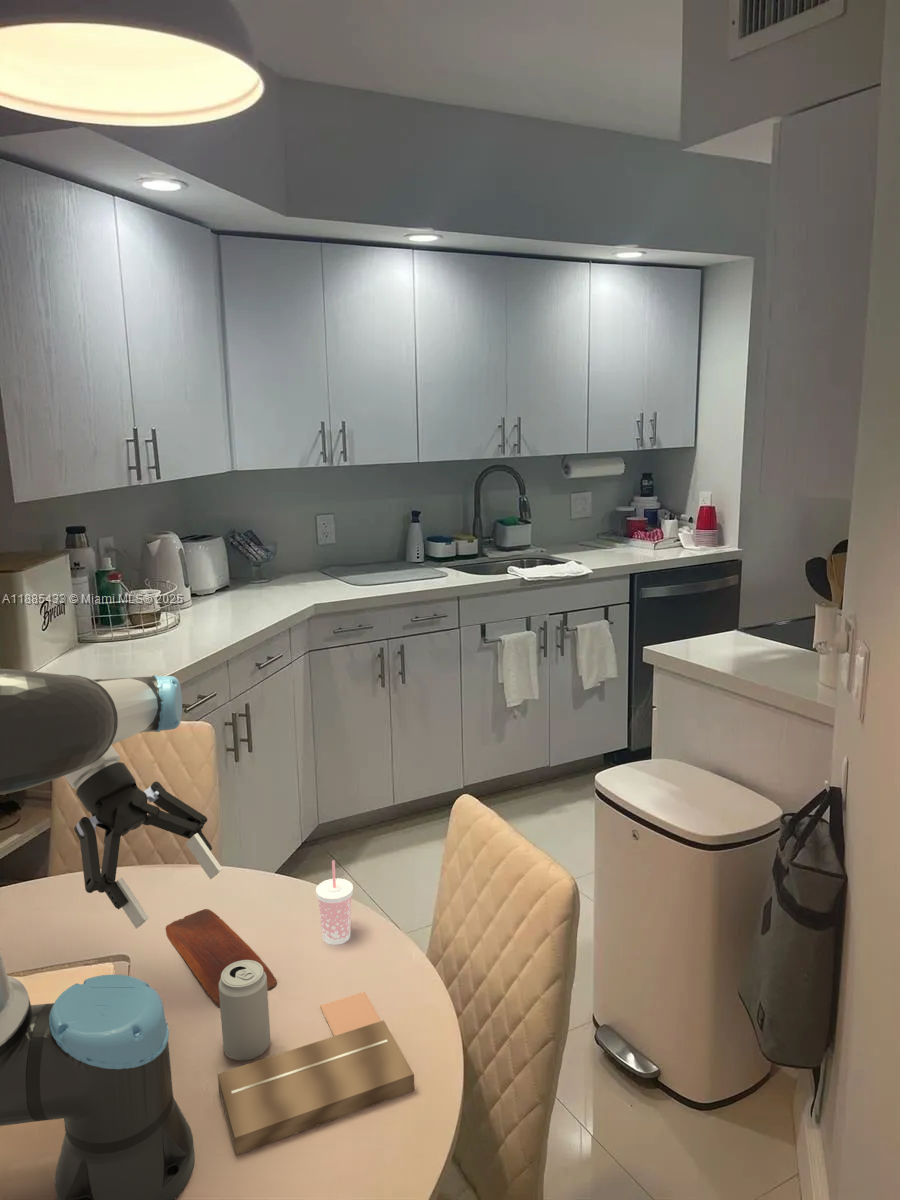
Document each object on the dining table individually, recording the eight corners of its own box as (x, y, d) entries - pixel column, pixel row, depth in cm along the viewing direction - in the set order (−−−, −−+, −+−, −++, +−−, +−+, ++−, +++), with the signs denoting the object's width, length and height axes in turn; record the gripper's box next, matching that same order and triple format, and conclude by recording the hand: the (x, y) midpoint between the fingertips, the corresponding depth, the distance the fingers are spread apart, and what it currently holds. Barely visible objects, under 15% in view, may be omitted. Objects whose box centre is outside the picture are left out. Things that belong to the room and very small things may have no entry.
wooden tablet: (281, 988, 133) (281, 978, 133) (219, 1015, 128) (218, 1005, 127) (215, 908, 154) (214, 899, 154) (158, 928, 148) (158, 919, 148)
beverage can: (246, 1025, 125) (241, 952, 122) (280, 1041, 122) (275, 966, 119) (213, 1053, 120) (207, 977, 117) (248, 1071, 116) (242, 993, 114)
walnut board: (236, 1155, 104) (234, 1137, 103) (218, 1089, 113) (217, 1073, 113) (414, 1090, 113) (413, 1073, 112) (384, 1035, 123) (383, 1019, 122)
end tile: (334, 1038, 122) (334, 1036, 122) (320, 1007, 128) (320, 1005, 128) (381, 1023, 125) (381, 1021, 125) (364, 993, 131) (364, 991, 131)
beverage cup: (341, 951, 141) (338, 874, 138) (310, 941, 144) (306, 865, 141) (361, 931, 146) (359, 856, 143) (331, 921, 149) (328, 848, 146)
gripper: (155, 757, 138) (231, 867, 134) (9, 825, 117) (95, 958, 113) (176, 732, 134) (255, 845, 130) (29, 798, 113) (119, 934, 109)
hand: (181, 897), depth 122 cm, fingers open, 13 cm apart
